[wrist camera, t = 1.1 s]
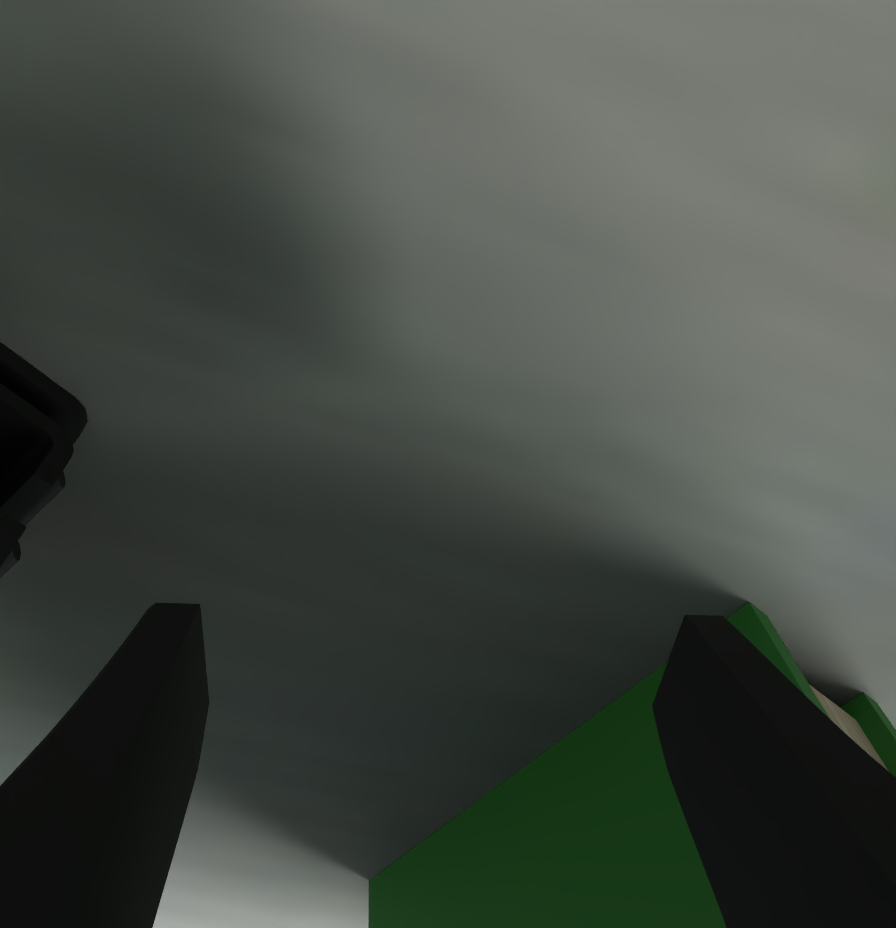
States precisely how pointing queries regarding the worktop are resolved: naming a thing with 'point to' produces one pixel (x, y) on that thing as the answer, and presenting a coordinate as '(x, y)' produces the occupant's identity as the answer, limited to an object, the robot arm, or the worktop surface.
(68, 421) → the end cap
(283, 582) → the worktop surface
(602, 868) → the green box
